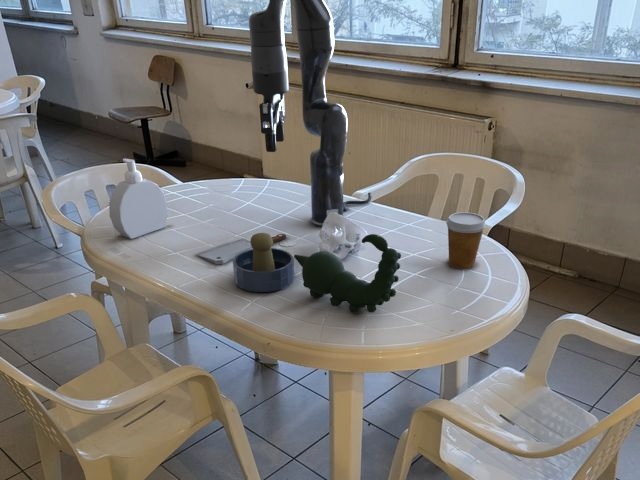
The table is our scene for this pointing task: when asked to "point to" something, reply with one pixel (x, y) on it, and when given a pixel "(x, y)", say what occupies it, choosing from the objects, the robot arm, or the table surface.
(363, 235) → the skull bowl
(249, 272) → the bowl
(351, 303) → the toy figurine
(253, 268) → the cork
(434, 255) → the table surface
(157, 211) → the soap bottle
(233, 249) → the kitchen cleaver
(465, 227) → the disposable coffee cup
